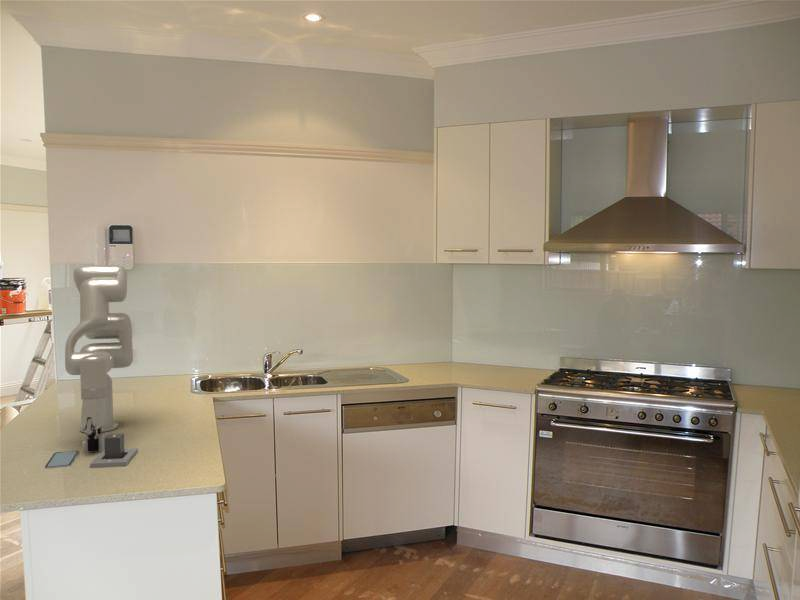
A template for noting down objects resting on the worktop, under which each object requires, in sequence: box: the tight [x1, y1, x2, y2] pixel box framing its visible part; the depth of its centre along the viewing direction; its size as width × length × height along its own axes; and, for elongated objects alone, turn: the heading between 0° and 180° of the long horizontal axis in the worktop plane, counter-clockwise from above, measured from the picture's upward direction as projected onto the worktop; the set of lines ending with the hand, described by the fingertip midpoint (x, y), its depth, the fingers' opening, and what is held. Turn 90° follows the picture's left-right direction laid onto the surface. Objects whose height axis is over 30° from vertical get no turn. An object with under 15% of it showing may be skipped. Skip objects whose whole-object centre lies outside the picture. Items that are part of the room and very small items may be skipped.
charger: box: [104, 433, 125, 459], centre depth 192 cm, size 4×4×7 cm
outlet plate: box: [89, 447, 139, 468], centre depth 192 cm, size 14×10×1 cm
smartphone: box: [43, 449, 80, 469], centre depth 192 cm, size 7×1×15 cm
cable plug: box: [81, 432, 106, 453], centre depth 202 cm, size 4×6×5 cm, turn 99°
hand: (95, 448), depth 202 cm, fingers closed on cable plug, 3 cm apart
